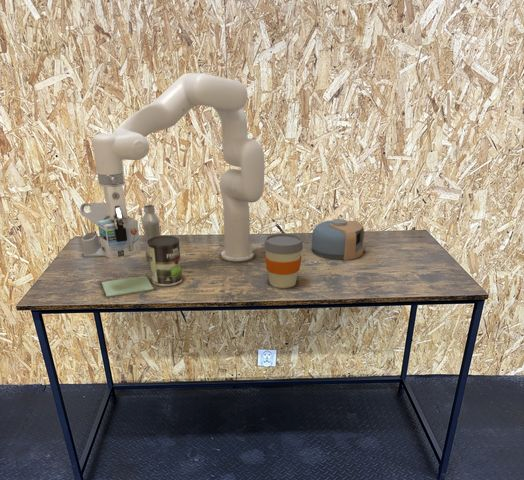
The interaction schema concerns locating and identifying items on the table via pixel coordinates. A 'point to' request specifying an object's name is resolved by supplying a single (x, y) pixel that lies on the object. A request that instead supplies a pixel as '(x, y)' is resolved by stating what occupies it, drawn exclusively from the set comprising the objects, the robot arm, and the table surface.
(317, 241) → the alarm clock
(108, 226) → the light bulb box
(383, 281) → the table surface
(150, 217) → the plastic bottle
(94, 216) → the phone holder
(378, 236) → the table surface
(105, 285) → the pad
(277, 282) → the reusable coffee cup
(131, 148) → the robot arm
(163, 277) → the coffee can
